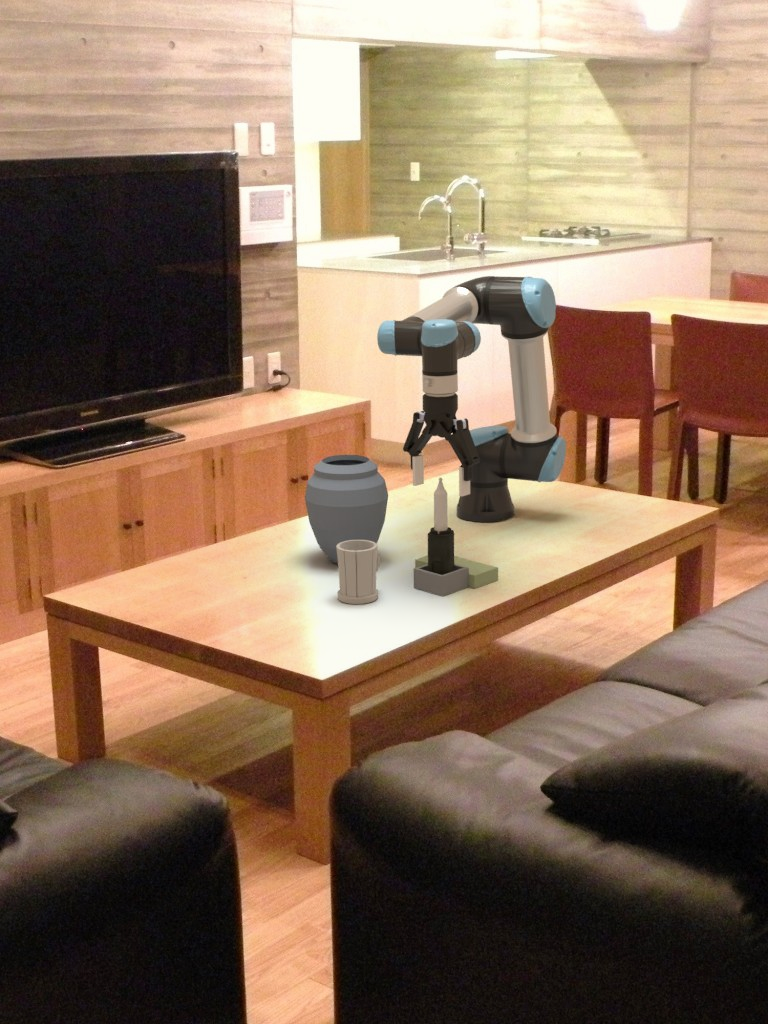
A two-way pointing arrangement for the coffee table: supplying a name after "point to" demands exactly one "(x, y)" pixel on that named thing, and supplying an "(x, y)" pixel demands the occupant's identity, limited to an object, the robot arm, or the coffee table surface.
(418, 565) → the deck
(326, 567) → the coffee table surface
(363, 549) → the cup
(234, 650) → the coffee table surface
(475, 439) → the robot arm
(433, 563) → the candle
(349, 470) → the vase
